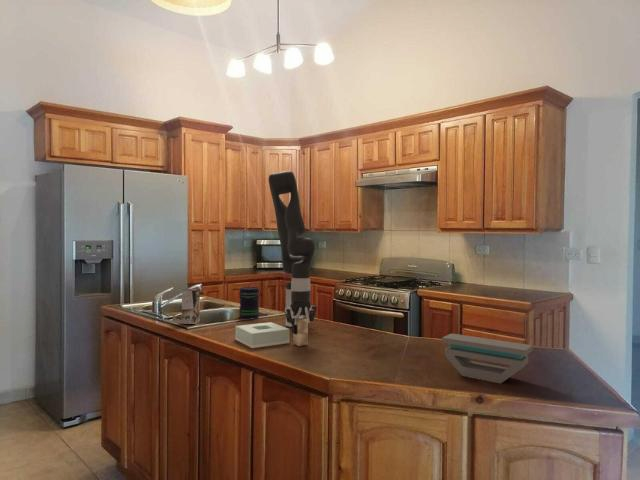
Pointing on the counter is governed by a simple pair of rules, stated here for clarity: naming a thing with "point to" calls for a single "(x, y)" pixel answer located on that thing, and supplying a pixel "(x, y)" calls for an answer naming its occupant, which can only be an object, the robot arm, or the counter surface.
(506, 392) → the counter surface
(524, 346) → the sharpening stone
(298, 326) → the peg
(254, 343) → the socket block
